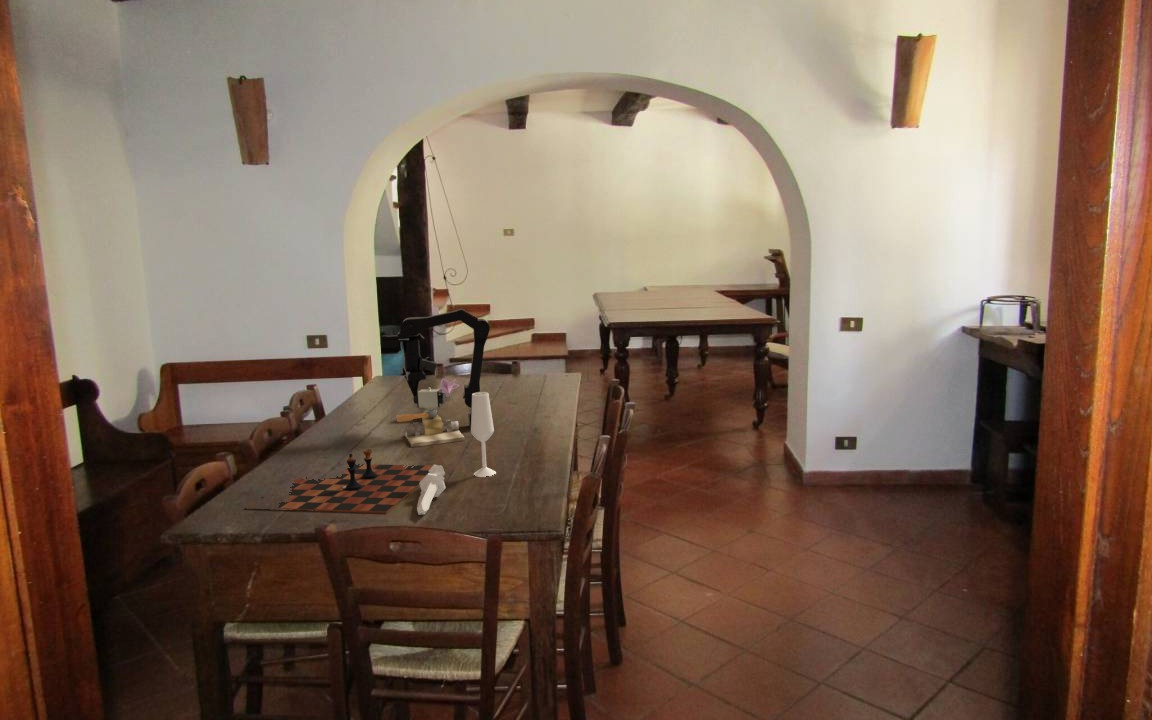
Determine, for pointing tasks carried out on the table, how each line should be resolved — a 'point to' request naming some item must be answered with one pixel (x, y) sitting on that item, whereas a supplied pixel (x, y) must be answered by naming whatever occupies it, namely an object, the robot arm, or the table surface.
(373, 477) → the chessboard
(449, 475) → the table surface
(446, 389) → the lily
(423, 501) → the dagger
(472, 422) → the champagne flute
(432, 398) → the pneumatic valve
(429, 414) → the valve lever
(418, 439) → the valve plank
